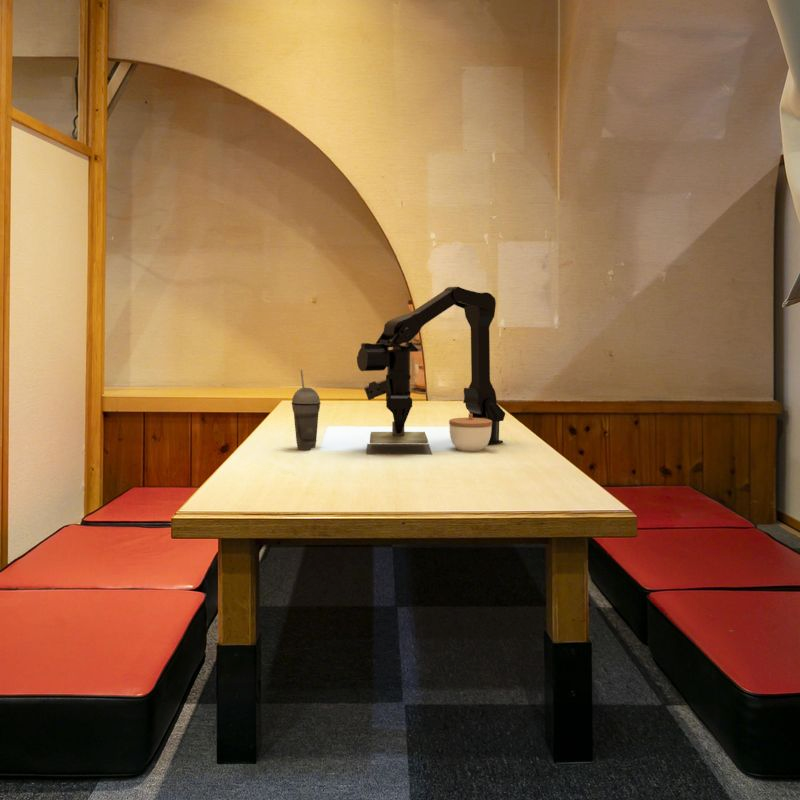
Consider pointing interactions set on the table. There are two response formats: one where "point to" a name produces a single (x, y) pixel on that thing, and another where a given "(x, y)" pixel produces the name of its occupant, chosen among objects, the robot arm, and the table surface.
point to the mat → (398, 449)
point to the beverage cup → (306, 416)
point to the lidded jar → (470, 433)
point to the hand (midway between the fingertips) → (398, 432)
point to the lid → (398, 437)
